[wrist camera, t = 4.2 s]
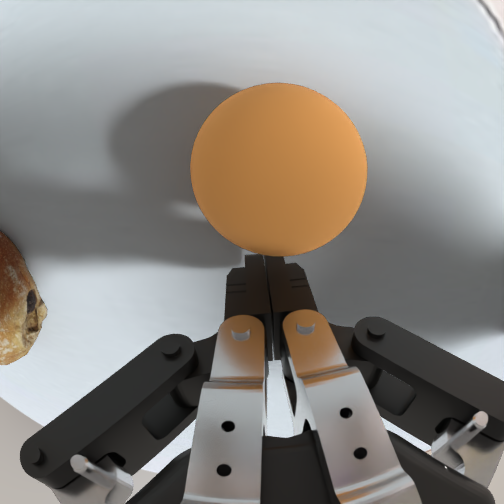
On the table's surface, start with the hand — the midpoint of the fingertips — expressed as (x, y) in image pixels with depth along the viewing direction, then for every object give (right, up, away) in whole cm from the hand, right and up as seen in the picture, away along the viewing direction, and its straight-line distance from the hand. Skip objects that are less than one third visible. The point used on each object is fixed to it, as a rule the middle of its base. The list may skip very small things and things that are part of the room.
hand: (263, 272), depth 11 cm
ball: (0, +3, -3) cm, 5 cm away
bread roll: (-19, -1, +2) cm, 19 cm away
